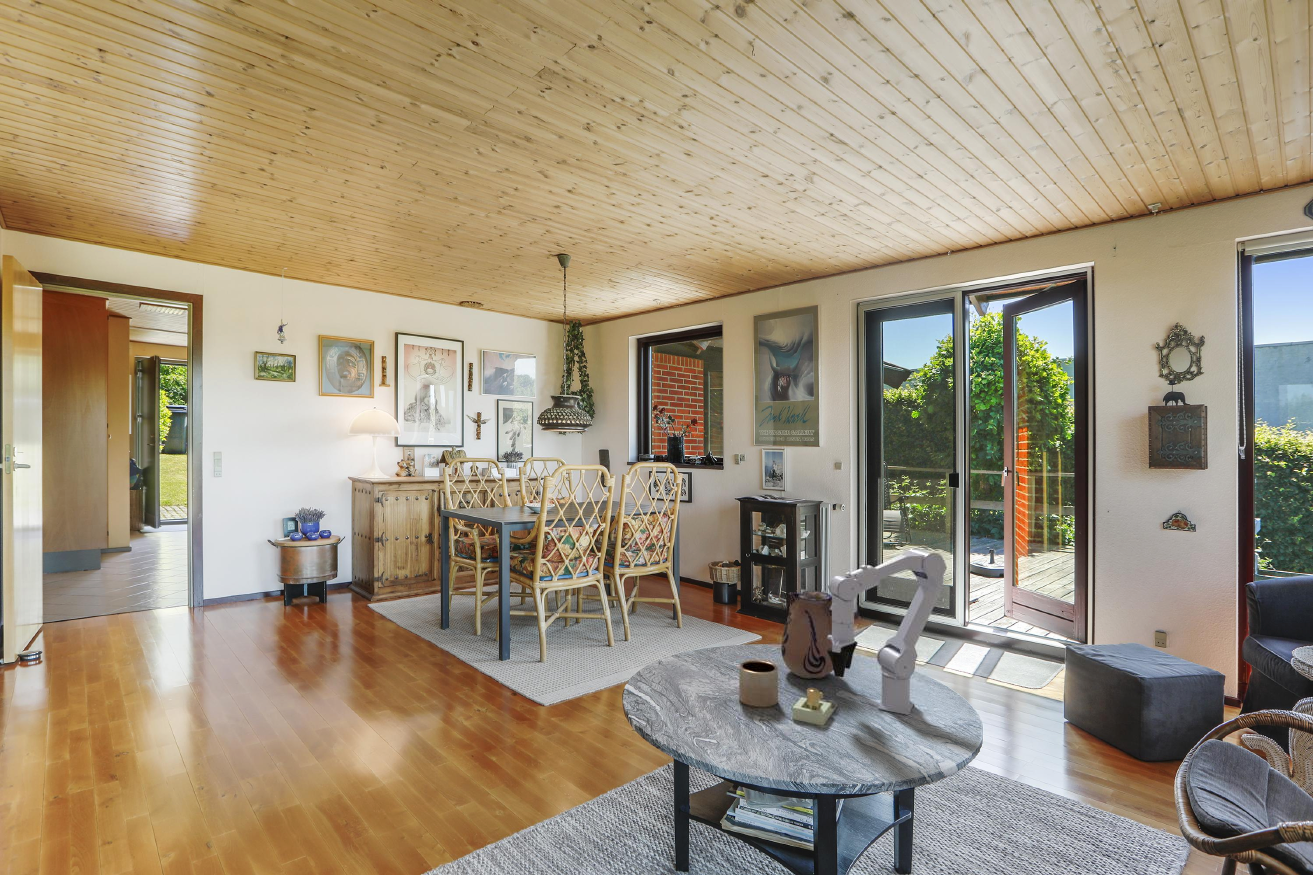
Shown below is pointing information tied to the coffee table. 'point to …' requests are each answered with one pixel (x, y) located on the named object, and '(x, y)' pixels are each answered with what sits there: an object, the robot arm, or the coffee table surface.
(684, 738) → the coffee table surface
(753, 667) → the planter
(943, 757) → the coffee table surface
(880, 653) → the robot arm
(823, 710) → the slot jig
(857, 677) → the coffee table surface
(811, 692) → the brass pin
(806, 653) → the ceramic pitcher
